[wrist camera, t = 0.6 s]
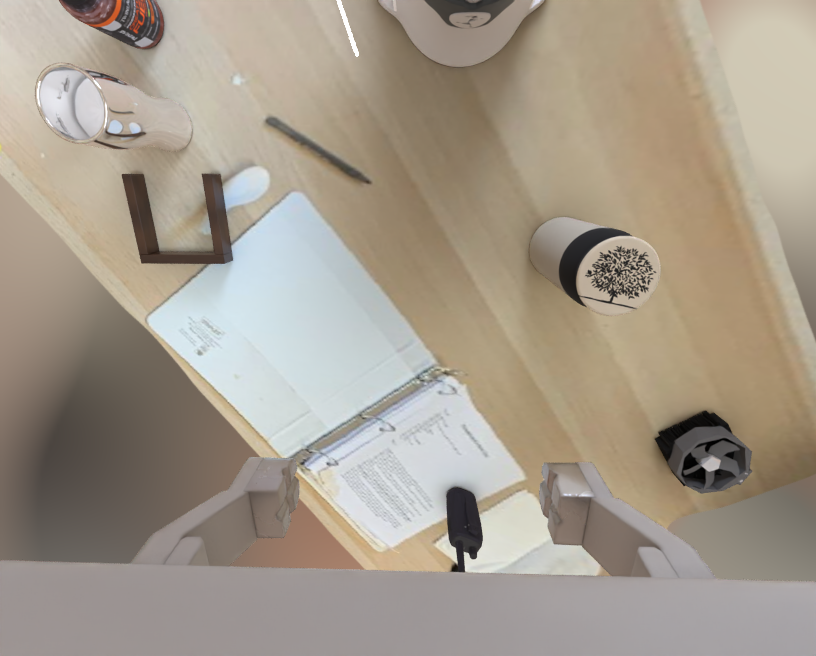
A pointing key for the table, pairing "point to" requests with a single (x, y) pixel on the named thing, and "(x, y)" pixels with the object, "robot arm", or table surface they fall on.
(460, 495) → the two-way radio
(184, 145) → the beer glass
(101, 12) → the supplement bottle
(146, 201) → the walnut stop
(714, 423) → the cpu cooler
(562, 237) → the travel mug
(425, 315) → the table surface
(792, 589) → the robot arm
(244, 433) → the table surface
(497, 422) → the table surface
